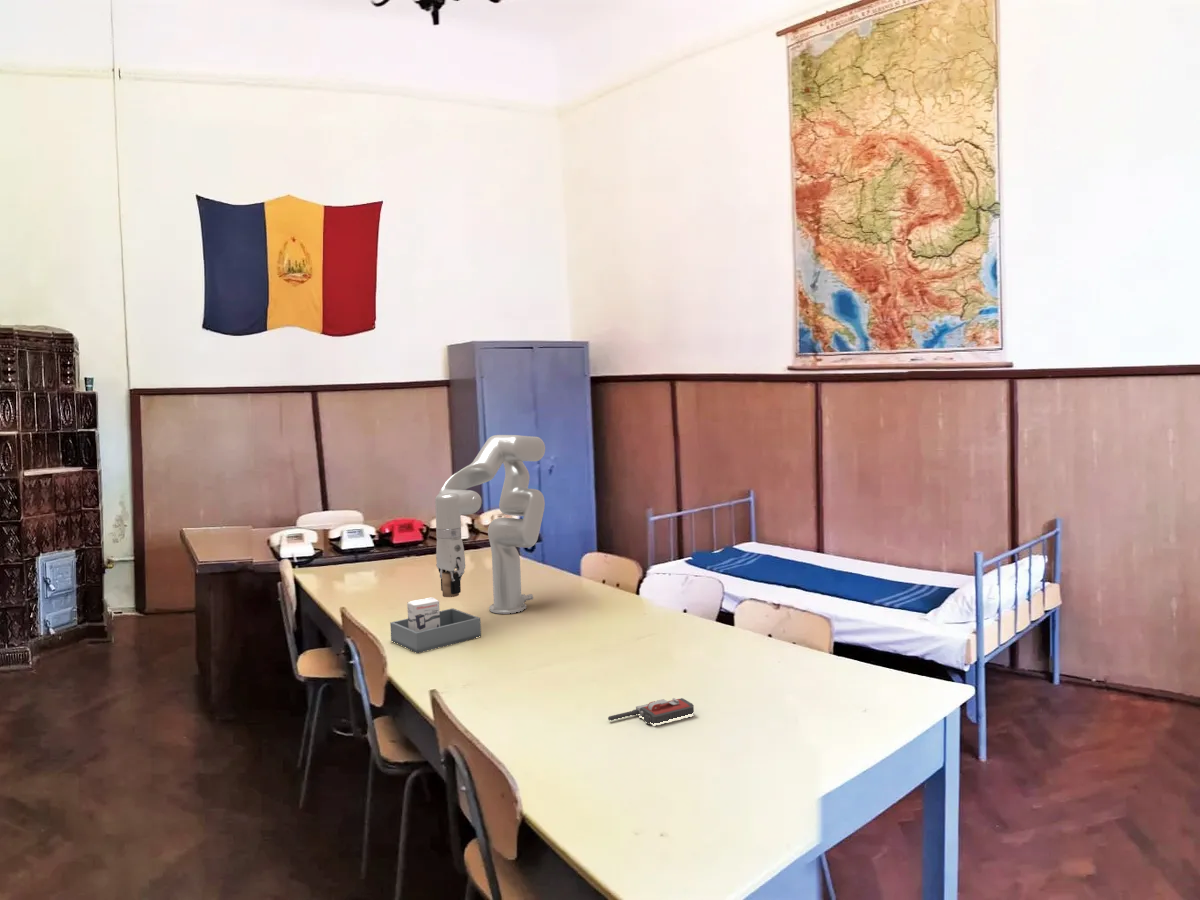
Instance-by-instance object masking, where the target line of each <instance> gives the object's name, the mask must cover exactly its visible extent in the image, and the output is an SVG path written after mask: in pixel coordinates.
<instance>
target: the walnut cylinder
mask: <svg viewBox="0 0 1200 900" xmlns="http://www.w3.org/2000/svg"><path fill="white" fill-rule="evenodd" d="M456 573H457V572H456ZM456 573H454V576H455V574H456ZM450 581H452V579H451V574H450V571H447V572H443V573H442V591H441V593H442V597H443V598H455V597H459V596H460V593H457V594H451V582H450Z"/></svg>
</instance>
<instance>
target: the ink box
mask: <svg viewBox="0 0 1200 900" xmlns="http://www.w3.org/2000/svg"><path fill="white" fill-rule="evenodd" d="M406 607H407V608H406V609H407V619H408V627H409V629H411V630H413V631H416V632H420V631H425V630H429V629H433V628H437V627H440V611H441V610H440V601H439V600H438V599H436V598H435V597H431V596H430V597H426V598H422V599H421V598H420V599H414V600H411V601H408V602H407V604H406Z"/></svg>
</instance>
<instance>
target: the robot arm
mask: <svg viewBox="0 0 1200 900" xmlns="http://www.w3.org/2000/svg"><path fill="white" fill-rule="evenodd" d="M545 444H546V443H545V442H544V441H543V439H542V438H541V437H539V436H532V435H531V436H529V435H519V434H495V435H492V436H490V437H488V438H487V439H486V440H485V443H484V444H483V446H481V449H480V450H479V452H478V453H477V455H476V457H475V458H474V459H473V460H472V462H471V463H470V464H468V465H466V466H464V467H463V468H462V469H459V471H456V472H454V473H453V474H452V475H451V476H450V477H448V479H447V480H446V481H445V482H444V484H443V485H442V487H441V488H440V490H439V492H438V494H437V495H436V496H435V501H434V505H435V506H434V507H435V530H436V531H435V532H436V533H435V534H436V551H435V558H436V560H435V561H436V565H435V566H436V568H437V569H438V573H439V578H440V591H441V592H442V573H443V572H447V571H450V574H451V579H452V581H450V582H451V594H457V593H459V594H460V593H461V591H462V590H461V588H462V587H461V581H462V577H463V574H464V573H465V569H466V556H465V555H466V554H465V547H464V542H463V538H462V521H461V520H462V519H461V515H473V514H475V513H477V512H478V511H479V510H480V508H481V507H482V502H483V501H482V497H481V495H480V494H479V493H478V492H477V491H475V490H471V489H470V488H472V487H476V486H479V485H483V484H485V483H487V482H490V481H492V480H493V479H494V478H495V476H496V474H497V473H498V471H499V470H500V468H501V467H502V465H503V467H504V472H505V474H504V481H503V485H502V489H501V493H500V498H499V503H498V504H499V506H498V508H499V511H500V513H502V514H503V515H508V516H513V517H498V518H497V517H496V518H495V519H493V520H492V521H491V522H490V523H489V525H488V528H487V536H488V542H489V545H490V551H491V565H492V568H491V569H492V591H493V604H490V605H489V607H488V608H489V611H490V612H491V613H494V614H500V615H509V614H510V613H511V614H517V613H516V612H518V613H521V612H524V611H525V610H526V609H527V604H526V603H525V602H527V601H532V600H533V599H534V594H532V593H530V594H524V593H522V578H521V572H522V571H521V558H520V554H519V551H518V549H517V548H524V549H525V548H531V547H533V546H535V545H536V543H537V541H538V539H539V536H540V531H541V526H542V523H543V517H544V512H545V506H546V504H545V497H544V494H543V492H541V490H539V489H536V488H529V484H530V478H531V477H530V472H529V470H528V468H527V466H526V465H525V463H524V462H538V461H540V460H542V458H543V457H544V456H545V452H546V445H545ZM514 516H515V517H516V516H517V517H523V518H514ZM456 572H457V573H456ZM454 573H456V574H455V576H454ZM524 609H525V610H524ZM523 610H524V611H523ZM520 611H521V612H520Z"/></svg>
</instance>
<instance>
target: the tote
mask: <svg viewBox="0 0 1200 900" xmlns="http://www.w3.org/2000/svg"><path fill="white" fill-rule="evenodd" d="M439 611H440V627H437V628H433V629H429V630H425V631H420V632H416V631H413V630H411V629H409V627H408V618H404V619H400V620H396V621H392V622H389V625H390V642H391V641H393V642H395V643H398V644H400V645H402V646H404V647H406V648H408V649H410V650H409V651H411V650H412V651H411V652H413V651H414V653H415V652H416V653H415V654H420V653H419V652H421V653H424V652H423V651H425V652H428V651H427V650H429V651H432V650H431V649H433V650H436V649H435V648H437V649H439V648H438V647H441V648H444V647H448V646H452V645H456V644H459V642H460V643H463V641H464V642H466V640H468V641H470V640H469V639H472V640H475V639H477V638H476V637H479V636H481V637H482V628H481V627H482V626H481V617H478V616H476V615H473V614H471V613H467V612H464V611H461V610H459V609H456V608H452V607H451V608H448V609H443V610H439ZM474 638H475V639H474ZM479 638H480V637H479ZM393 642H392V643H393ZM395 643H394V644H395ZM451 644H452V645H451ZM400 645H399V646H400ZM447 645H448V646H447ZM402 646H401V647H402ZM443 646H444V647H443ZM404 647H403V648H404ZM406 648H405V649H406ZM408 649H407V650H408Z"/></svg>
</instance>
